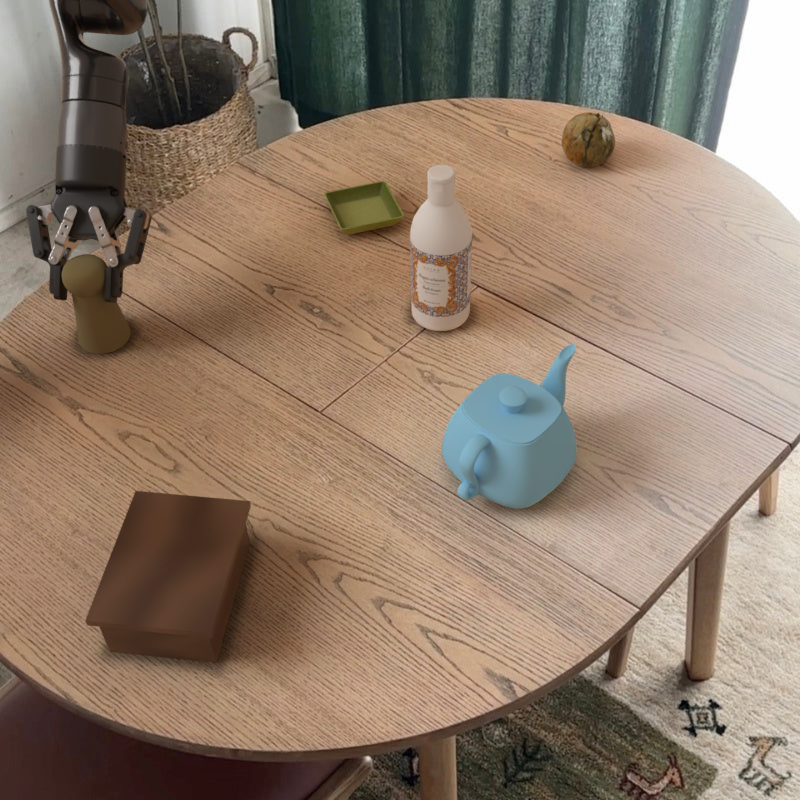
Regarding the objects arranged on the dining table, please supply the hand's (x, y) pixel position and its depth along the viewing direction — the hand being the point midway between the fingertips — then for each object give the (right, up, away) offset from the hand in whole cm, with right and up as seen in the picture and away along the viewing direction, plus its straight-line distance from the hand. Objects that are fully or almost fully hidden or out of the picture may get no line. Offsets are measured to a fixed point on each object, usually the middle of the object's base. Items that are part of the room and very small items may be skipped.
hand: (85, 300), depth 119 cm
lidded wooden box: (+15, -30, -19) cm, 38 cm away
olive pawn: (0, -4, +7) cm, 8 cm away
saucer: (+31, +13, +21) cm, 39 cm away
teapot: (+47, -18, -8) cm, 51 cm away
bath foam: (+40, -1, +8) cm, 41 cm away
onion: (+61, +22, +29) cm, 71 cm away
